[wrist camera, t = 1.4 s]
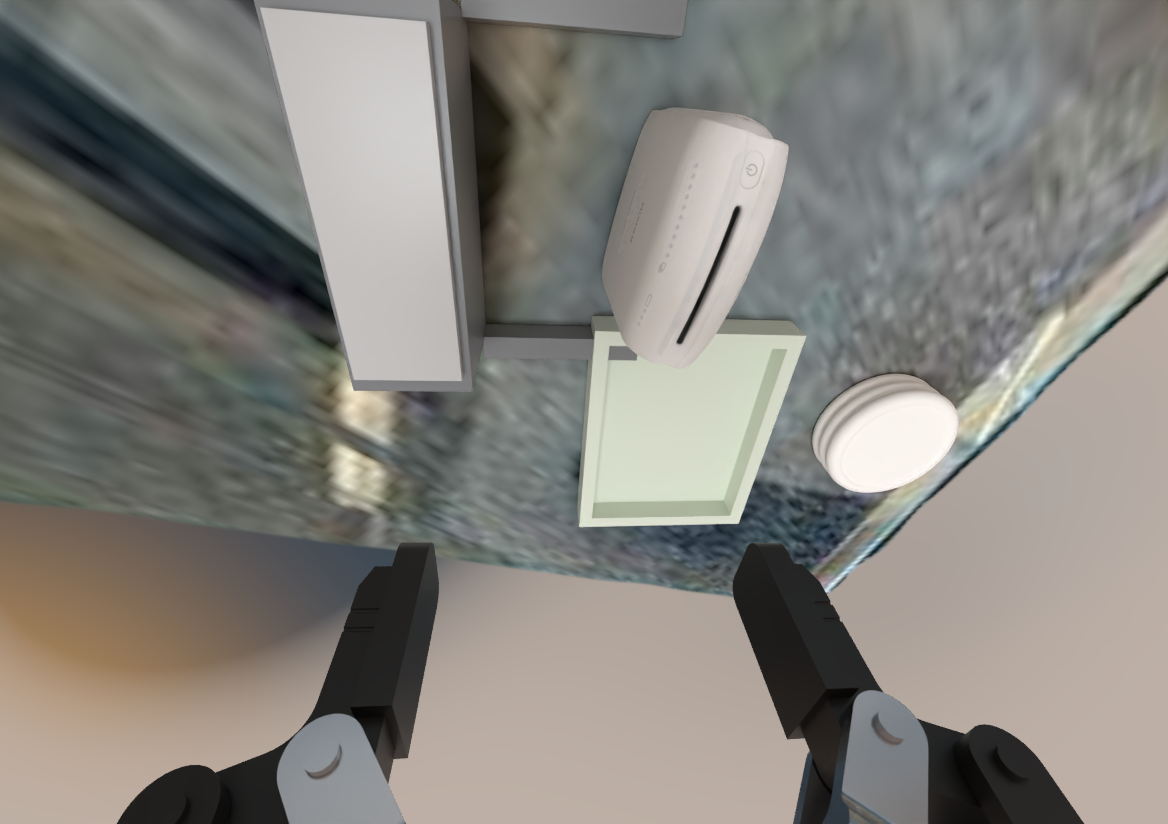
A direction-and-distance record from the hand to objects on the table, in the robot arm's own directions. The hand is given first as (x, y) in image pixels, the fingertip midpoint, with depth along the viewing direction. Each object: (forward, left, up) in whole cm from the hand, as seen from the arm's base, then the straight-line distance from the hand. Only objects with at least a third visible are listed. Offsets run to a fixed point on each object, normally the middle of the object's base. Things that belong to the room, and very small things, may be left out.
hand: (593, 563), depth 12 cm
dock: (-5, -3, -22) cm, 22 cm away
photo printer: (-4, +5, -22) cm, 23 cm away
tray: (+12, +9, -22) cm, 26 cm away
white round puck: (+11, +26, -22) cm, 36 cm away
